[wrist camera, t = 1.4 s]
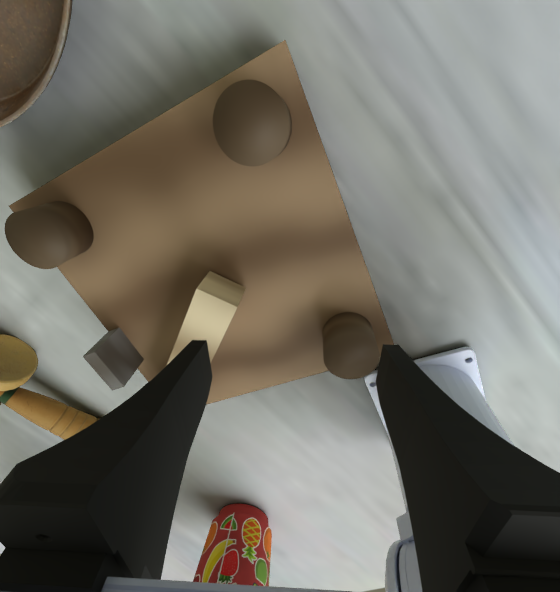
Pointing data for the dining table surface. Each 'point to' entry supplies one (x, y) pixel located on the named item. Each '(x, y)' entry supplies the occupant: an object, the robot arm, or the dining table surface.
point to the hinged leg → (209, 313)
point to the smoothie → (237, 548)
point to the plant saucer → (29, 50)
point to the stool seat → (214, 238)
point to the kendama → (35, 407)
